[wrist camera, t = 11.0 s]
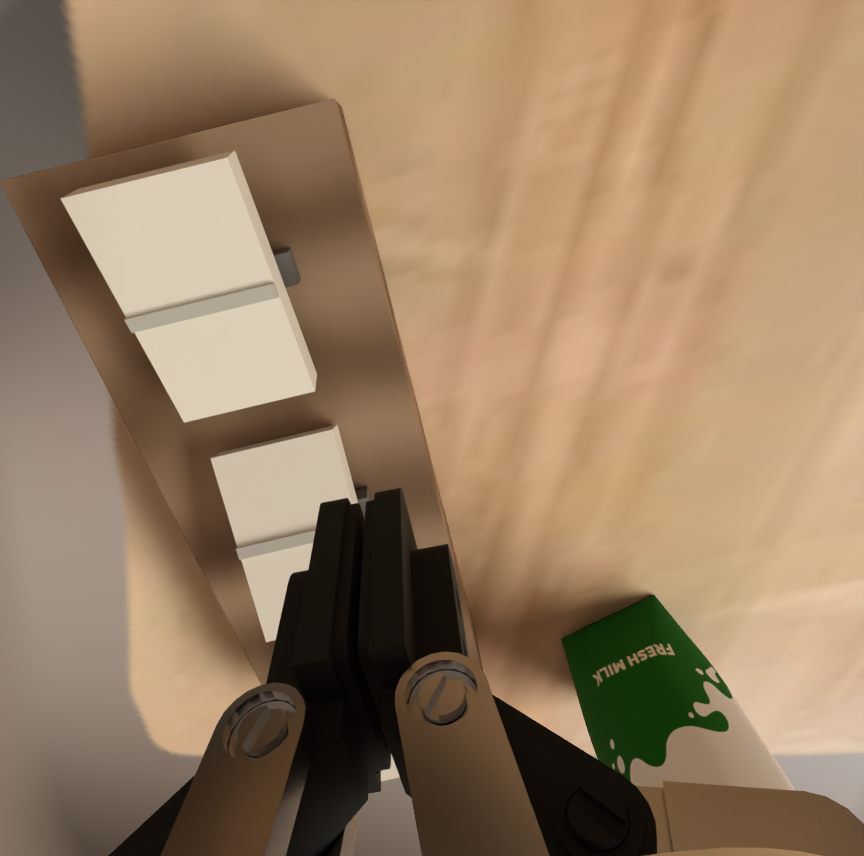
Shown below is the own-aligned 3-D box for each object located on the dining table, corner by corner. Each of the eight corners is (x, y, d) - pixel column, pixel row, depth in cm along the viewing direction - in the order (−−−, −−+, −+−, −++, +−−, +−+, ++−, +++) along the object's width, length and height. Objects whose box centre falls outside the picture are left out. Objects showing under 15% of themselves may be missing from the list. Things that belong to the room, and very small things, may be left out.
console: (59, 176, 24) (-29, 185, 19) (341, 107, 24) (332, 96, 19) (298, 679, 39) (286, 765, 33) (476, 638, 39) (492, 718, 33)
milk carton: (593, 707, 43) (750, 1109, 25) (542, 634, 39) (684, 1048, 21) (703, 657, 42) (951, 1045, 24) (661, 577, 38) (920, 966, 20)
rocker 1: (78, 188, 18) (57, 200, 17) (234, 150, 18) (225, 158, 17) (192, 403, 23) (182, 425, 22) (317, 373, 23) (315, 394, 22)
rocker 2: (222, 452, 25) (208, 459, 23) (337, 424, 25) (331, 430, 23) (274, 626, 26) (264, 644, 25) (384, 601, 26) (381, 617, 25)
